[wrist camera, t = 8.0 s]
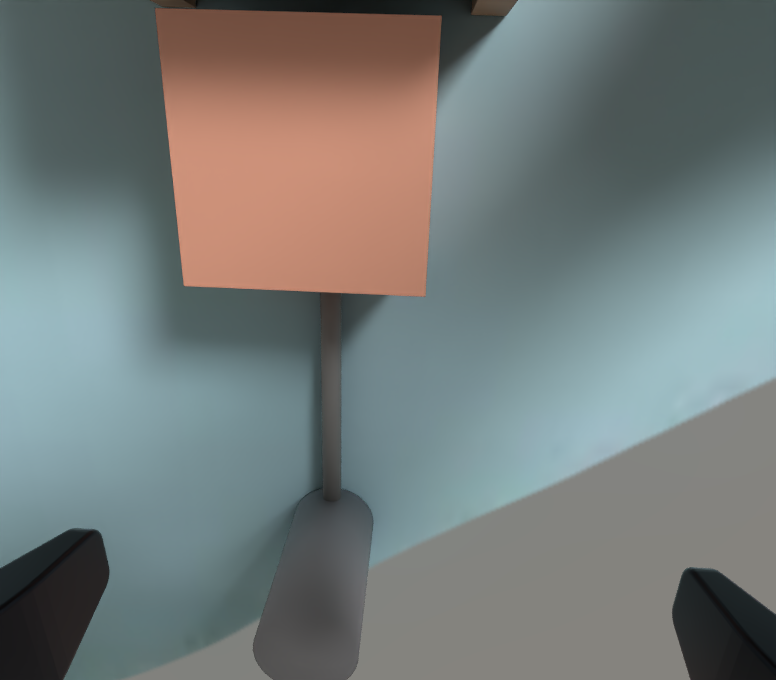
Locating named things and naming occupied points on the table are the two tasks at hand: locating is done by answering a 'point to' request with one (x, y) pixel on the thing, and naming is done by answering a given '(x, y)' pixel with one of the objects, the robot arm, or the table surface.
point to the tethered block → (305, 237)
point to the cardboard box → (483, 3)
